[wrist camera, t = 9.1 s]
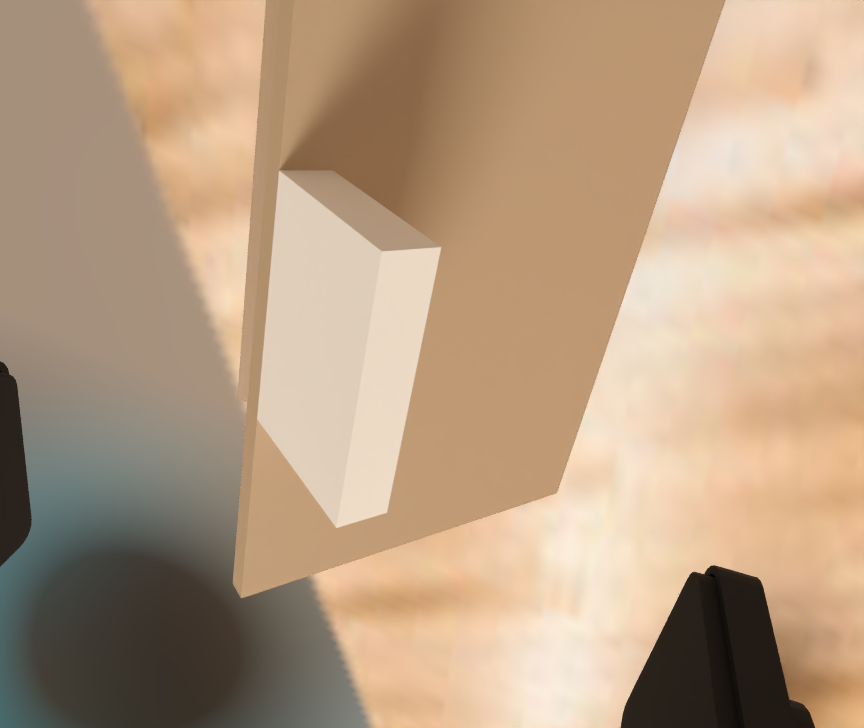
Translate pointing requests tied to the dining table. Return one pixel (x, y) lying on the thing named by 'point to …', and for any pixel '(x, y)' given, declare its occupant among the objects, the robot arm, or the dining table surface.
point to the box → (258, 191)
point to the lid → (444, 257)
